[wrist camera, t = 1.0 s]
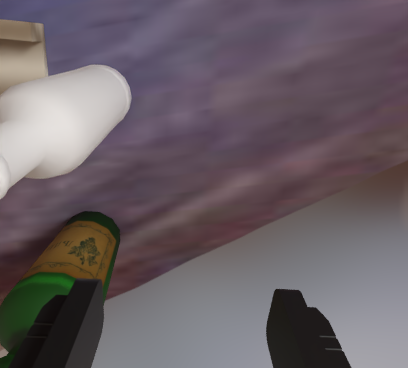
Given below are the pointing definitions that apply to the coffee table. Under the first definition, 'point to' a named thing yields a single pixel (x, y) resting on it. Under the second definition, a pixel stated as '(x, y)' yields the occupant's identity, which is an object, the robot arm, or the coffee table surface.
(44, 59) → the cradle
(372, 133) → the coffee table surface
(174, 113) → the coffee table surface
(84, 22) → the coffee table surface
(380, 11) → the coffee table surface
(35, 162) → the bottle
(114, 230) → the bottle
